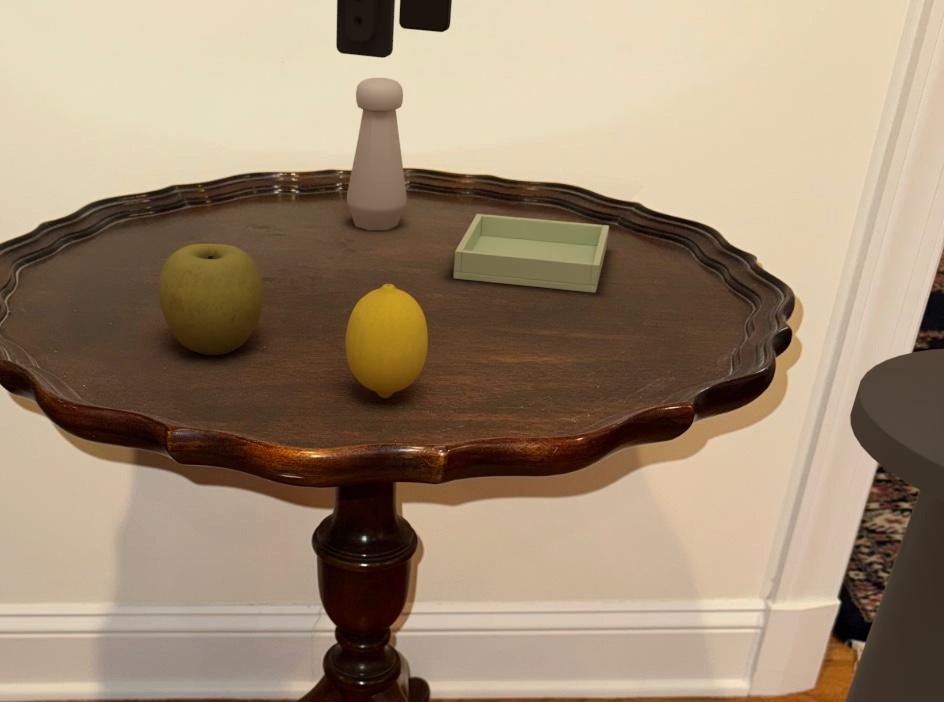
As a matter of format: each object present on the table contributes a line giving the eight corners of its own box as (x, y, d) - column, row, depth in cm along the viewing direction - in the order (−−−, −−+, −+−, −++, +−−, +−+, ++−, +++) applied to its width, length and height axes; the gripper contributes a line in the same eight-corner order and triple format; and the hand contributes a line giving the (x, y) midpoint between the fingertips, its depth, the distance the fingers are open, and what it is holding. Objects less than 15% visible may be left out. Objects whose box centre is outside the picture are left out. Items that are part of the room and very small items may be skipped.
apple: (274, 329, 87) (272, 238, 83) (250, 371, 81) (246, 274, 77) (180, 322, 88) (173, 231, 84) (149, 363, 82) (140, 266, 78)
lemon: (340, 382, 80) (341, 271, 75) (417, 379, 80) (423, 269, 76) (349, 416, 75) (351, 301, 71) (431, 413, 76) (438, 298, 71)
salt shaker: (408, 233, 107) (415, 86, 100) (348, 234, 107) (350, 86, 99) (401, 215, 112) (407, 73, 105) (344, 215, 112) (346, 73, 104)
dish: (605, 251, 104) (609, 225, 102) (595, 293, 95) (599, 265, 93) (474, 239, 106) (476, 213, 105) (453, 278, 97) (454, 251, 96)
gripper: (424, -354, 49) (403, 73, 59) (531, -319, 62) (499, 26, 72) (269, -352, 51) (274, 59, 61) (404, -318, 64) (390, 16, 74)
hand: (395, 41), depth 66 cm, fingers open, 9 cm apart
